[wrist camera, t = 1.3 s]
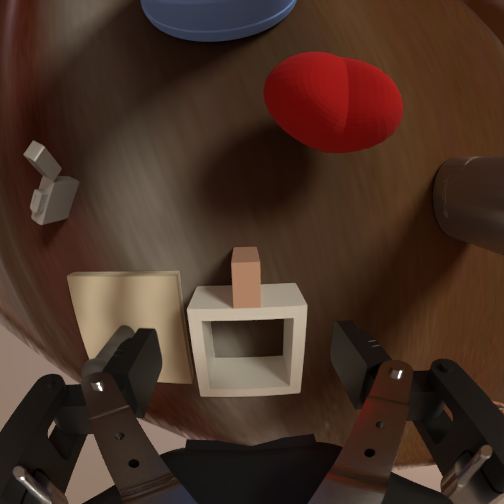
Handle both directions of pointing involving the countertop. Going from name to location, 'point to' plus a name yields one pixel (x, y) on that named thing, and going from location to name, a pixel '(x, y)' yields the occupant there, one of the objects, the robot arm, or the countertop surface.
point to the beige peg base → (132, 317)
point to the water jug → (215, 17)
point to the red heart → (333, 102)
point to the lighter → (50, 187)
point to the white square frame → (248, 308)
